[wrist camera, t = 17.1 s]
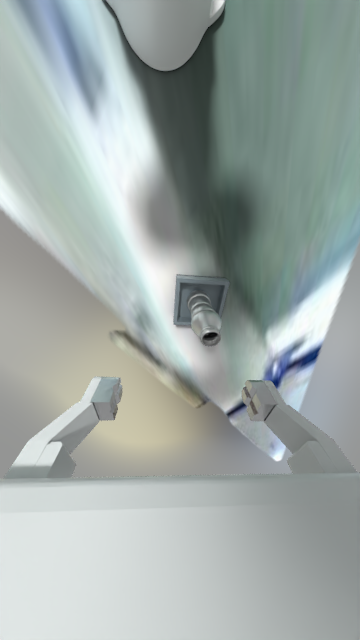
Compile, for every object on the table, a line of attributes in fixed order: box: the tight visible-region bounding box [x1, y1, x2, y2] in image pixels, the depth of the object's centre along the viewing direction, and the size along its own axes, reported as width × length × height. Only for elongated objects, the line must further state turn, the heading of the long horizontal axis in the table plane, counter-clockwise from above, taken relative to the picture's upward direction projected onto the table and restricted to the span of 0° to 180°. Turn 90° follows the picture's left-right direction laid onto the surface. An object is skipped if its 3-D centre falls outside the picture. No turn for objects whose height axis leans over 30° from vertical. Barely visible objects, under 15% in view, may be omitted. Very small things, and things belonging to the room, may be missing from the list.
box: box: [174, 274, 230, 325], centre depth 46 cm, size 14×14×4 cm
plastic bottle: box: [187, 290, 222, 346], centre depth 38 cm, size 6×7×20 cm
